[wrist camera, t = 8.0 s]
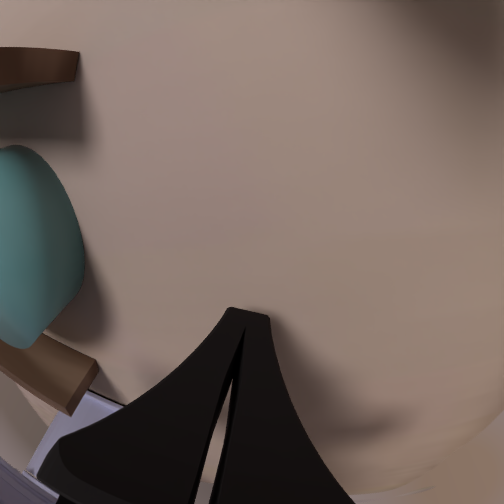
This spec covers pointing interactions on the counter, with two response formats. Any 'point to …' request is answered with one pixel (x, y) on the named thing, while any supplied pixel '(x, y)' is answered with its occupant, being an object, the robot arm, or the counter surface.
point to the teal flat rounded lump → (35, 246)
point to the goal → (44, 348)
